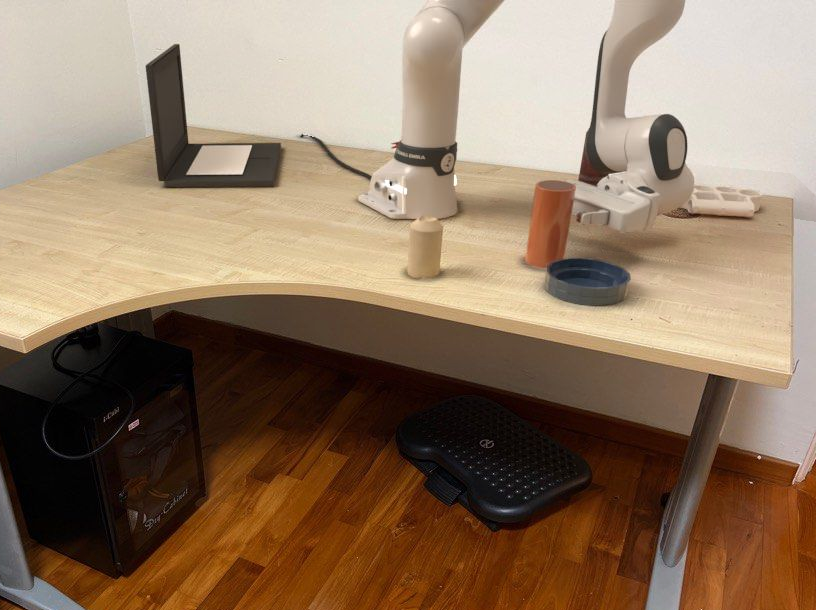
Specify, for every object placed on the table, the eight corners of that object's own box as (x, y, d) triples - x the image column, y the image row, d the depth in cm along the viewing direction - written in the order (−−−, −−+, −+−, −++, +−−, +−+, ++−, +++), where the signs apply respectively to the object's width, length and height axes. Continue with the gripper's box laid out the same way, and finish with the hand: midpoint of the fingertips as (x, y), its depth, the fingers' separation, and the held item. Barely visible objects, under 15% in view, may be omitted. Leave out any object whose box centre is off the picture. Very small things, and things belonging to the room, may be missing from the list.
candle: (404, 268, 134) (407, 213, 129) (435, 267, 134) (439, 211, 129) (410, 280, 129) (414, 223, 124) (442, 279, 130) (447, 222, 125)
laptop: (273, 187, 178) (268, 63, 164) (158, 187, 178) (144, 65, 165) (281, 148, 210) (277, 42, 196) (183, 149, 210) (173, 43, 197)
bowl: (527, 289, 126) (530, 270, 124) (574, 270, 132) (578, 252, 131) (595, 315, 117) (599, 295, 115) (642, 294, 124) (646, 274, 122)
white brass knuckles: (673, 215, 157) (663, 195, 169) (769, 222, 153) (751, 200, 165) (677, 199, 155) (666, 180, 168) (774, 205, 152) (756, 185, 164)
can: (607, 197, 169) (620, 132, 161) (577, 195, 170) (588, 131, 163) (604, 189, 174) (616, 126, 167) (575, 188, 175) (585, 125, 168)
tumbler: (517, 262, 136) (527, 184, 129) (540, 253, 139) (551, 177, 132) (547, 273, 131) (560, 193, 124) (570, 264, 135) (584, 185, 128)
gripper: (578, 168, 143) (521, 178, 138) (668, 196, 128) (607, 209, 122) (573, 201, 147) (517, 212, 141) (659, 232, 131) (600, 246, 125)
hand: (559, 211), depth 131 cm, fingers open, 8 cm apart
